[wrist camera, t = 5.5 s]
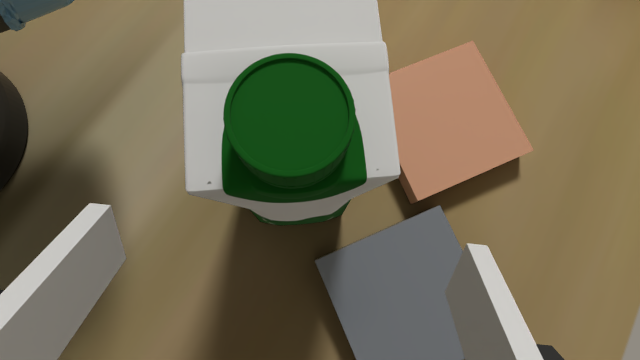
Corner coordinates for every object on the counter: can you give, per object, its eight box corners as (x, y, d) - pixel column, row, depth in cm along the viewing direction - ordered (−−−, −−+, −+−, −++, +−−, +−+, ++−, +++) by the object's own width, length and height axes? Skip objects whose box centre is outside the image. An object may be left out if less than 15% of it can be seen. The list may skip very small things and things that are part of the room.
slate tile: (314, 259, 29) (314, 260, 27) (431, 208, 30) (439, 205, 28) (369, 392, 27) (374, 403, 25) (491, 331, 29) (505, 338, 27)
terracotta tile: (358, 94, 32) (361, 84, 30) (463, 52, 33) (473, 40, 31) (410, 204, 30) (418, 201, 28) (519, 156, 32) (533, 150, 30)
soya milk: (250, 233, 29) (137, 203, 10) (245, 130, 31) (140, -71, 12) (354, 225, 30) (444, 179, 10) (343, 123, 32) (404, -81, 12)
